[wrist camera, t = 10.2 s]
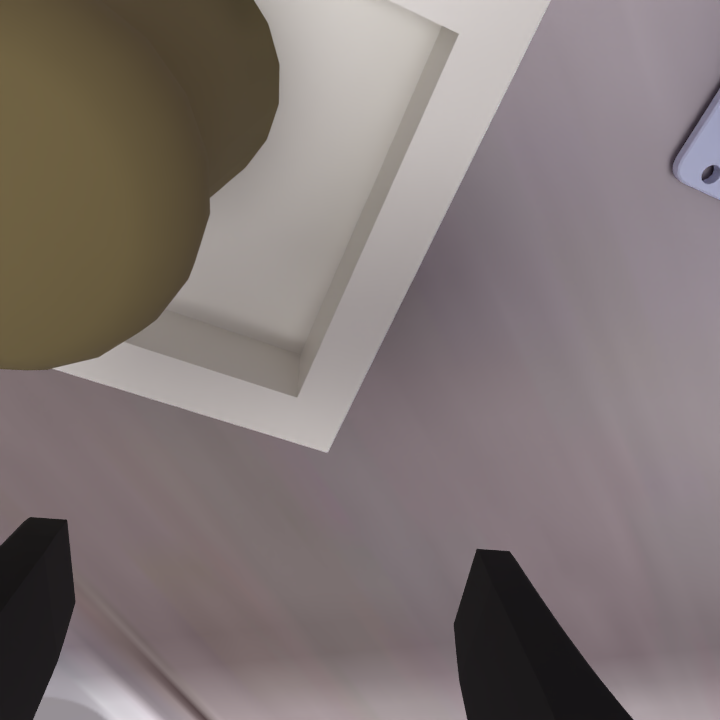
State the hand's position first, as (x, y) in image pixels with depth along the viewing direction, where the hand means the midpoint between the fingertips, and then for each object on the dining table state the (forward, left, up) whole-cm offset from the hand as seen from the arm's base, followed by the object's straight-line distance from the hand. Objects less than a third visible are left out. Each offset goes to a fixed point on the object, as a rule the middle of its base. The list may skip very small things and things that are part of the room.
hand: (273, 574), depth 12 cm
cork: (+6, -5, -10) cm, 13 cm away
